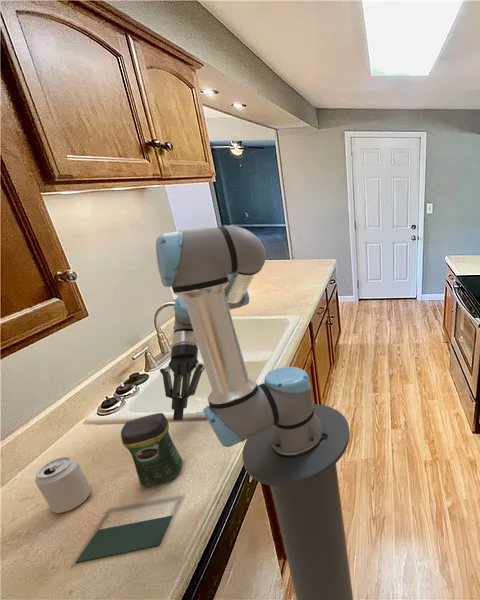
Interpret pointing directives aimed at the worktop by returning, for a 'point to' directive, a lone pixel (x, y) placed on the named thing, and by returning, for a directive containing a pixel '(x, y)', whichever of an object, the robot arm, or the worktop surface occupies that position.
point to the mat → (125, 538)
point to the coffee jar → (151, 449)
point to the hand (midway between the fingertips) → (177, 419)
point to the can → (62, 484)
